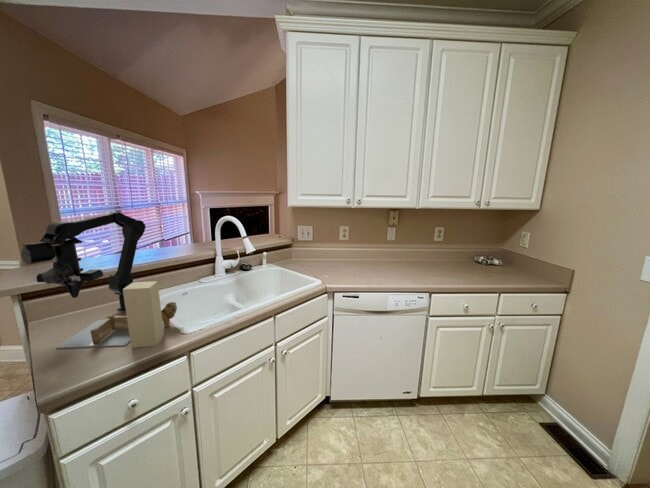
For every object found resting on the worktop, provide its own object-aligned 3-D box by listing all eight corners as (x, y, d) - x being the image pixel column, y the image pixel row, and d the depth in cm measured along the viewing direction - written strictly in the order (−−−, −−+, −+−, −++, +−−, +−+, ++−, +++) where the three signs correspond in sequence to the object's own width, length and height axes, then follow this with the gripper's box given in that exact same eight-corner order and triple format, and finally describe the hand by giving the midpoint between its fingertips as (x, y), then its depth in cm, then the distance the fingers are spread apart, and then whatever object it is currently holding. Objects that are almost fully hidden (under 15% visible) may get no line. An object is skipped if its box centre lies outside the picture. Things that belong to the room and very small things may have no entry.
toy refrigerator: (165, 334, 98) (158, 280, 93) (157, 346, 91) (148, 288, 86) (141, 336, 97) (133, 281, 92) (131, 348, 90) (121, 289, 85)
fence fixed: (112, 328, 101) (109, 314, 100) (143, 327, 102) (141, 313, 101) (108, 331, 99) (105, 317, 98) (140, 329, 100) (138, 316, 99)
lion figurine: (175, 319, 109) (173, 298, 107) (181, 323, 105) (178, 302, 103) (133, 334, 98) (129, 312, 96) (137, 340, 94) (134, 316, 92)
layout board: (97, 320, 107) (97, 319, 107) (154, 319, 109) (154, 317, 109) (56, 348, 89) (56, 347, 89) (125, 345, 91) (124, 344, 91)
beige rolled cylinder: (91, 344, 90) (89, 331, 89) (108, 330, 99) (105, 318, 98) (97, 344, 90) (95, 331, 89) (113, 330, 99) (111, 318, 98)
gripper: (15, 264, 88) (26, 307, 91) (76, 263, 90) (85, 306, 93) (46, 255, 99) (55, 294, 102) (100, 254, 100) (107, 293, 104)
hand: (75, 297), depth 100 cm, fingers closed
